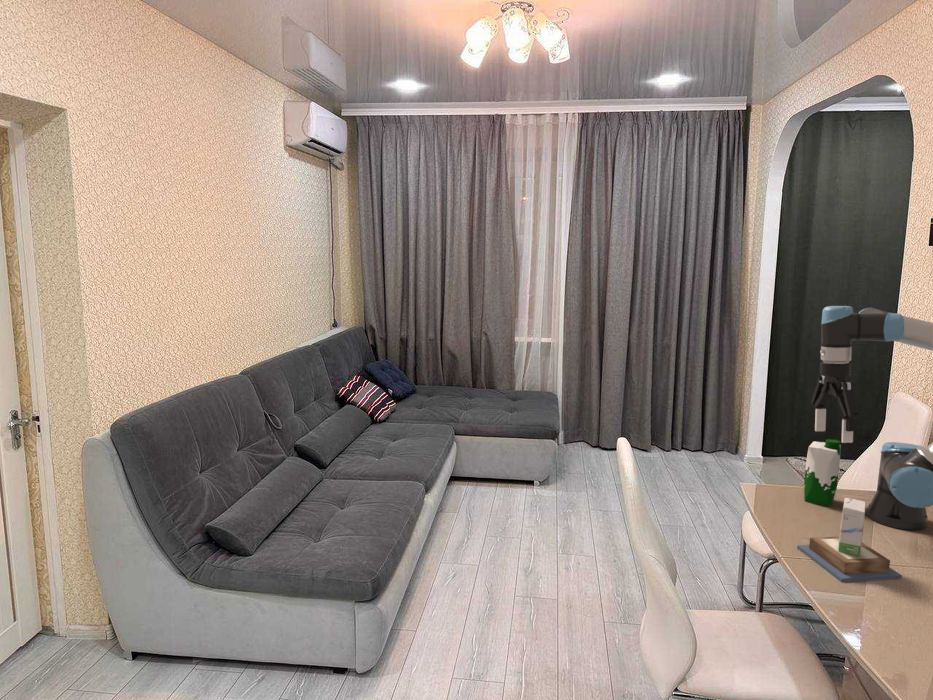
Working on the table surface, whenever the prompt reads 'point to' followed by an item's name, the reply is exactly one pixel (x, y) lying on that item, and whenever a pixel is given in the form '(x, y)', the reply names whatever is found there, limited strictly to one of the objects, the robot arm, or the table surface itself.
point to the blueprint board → (847, 577)
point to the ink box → (852, 526)
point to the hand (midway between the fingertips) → (833, 436)
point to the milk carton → (822, 472)
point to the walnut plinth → (849, 557)
